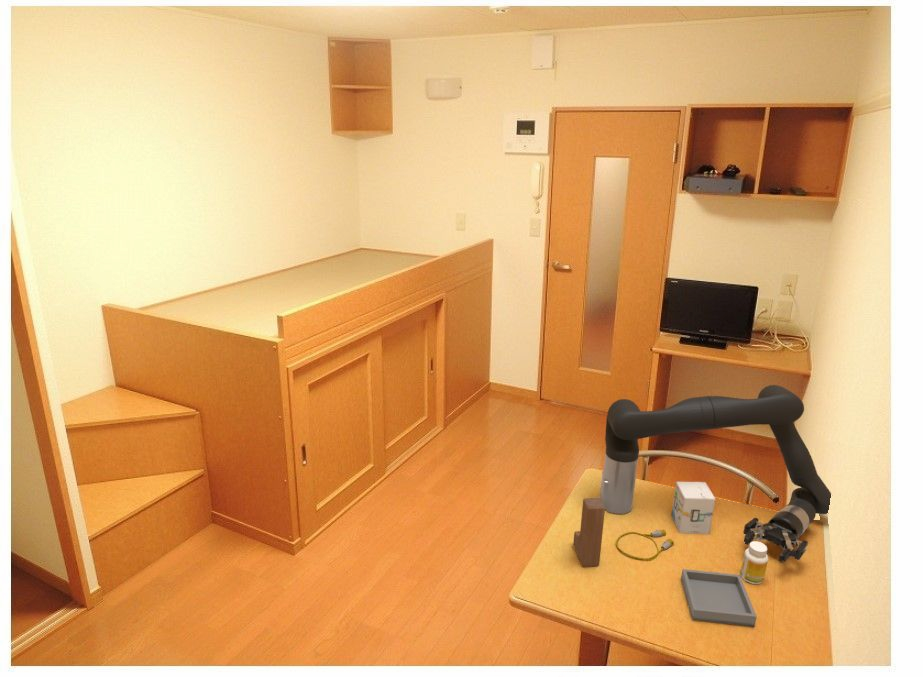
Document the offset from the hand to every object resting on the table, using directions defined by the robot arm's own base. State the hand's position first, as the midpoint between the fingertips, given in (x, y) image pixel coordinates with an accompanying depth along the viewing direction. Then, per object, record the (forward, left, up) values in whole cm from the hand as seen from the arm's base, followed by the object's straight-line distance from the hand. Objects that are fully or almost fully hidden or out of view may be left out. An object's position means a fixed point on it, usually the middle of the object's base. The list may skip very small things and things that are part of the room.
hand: (763, 550), depth 155 cm
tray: (-14, -13, -6) cm, 20 cm away
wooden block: (-44, -1, -6) cm, 44 cm away
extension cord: (-28, +5, -7) cm, 29 cm away
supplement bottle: (-3, -3, -6) cm, 8 cm away
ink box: (-14, +17, -6) cm, 22 cm away
